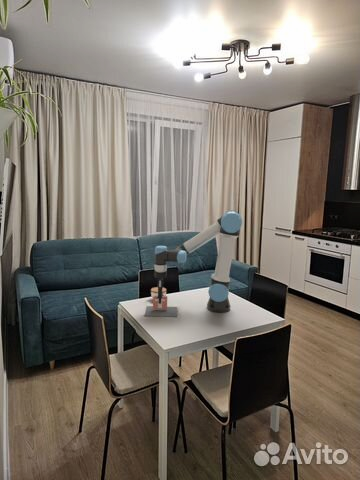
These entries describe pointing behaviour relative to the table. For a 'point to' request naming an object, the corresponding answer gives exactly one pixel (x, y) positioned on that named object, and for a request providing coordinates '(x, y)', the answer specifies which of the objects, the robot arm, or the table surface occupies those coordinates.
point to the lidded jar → (155, 292)
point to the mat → (161, 312)
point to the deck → (164, 302)
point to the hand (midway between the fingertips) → (160, 307)
